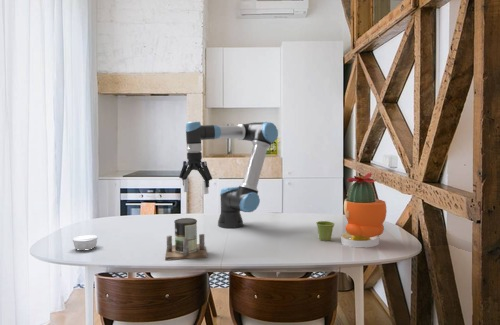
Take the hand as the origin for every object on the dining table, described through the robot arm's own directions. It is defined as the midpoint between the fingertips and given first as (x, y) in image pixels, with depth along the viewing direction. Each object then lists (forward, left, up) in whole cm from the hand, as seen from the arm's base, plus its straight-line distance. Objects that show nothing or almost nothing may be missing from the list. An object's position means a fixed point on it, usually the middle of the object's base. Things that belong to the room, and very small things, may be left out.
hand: (196, 192), depth 203 cm
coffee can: (+6, +22, -24) cm, 33 cm away
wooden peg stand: (+6, +22, -25) cm, 33 cm away
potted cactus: (-83, +22, -25) cm, 90 cm away
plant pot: (-66, +12, -25) cm, 72 cm away
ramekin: (+54, +6, -25) cm, 60 cm away
